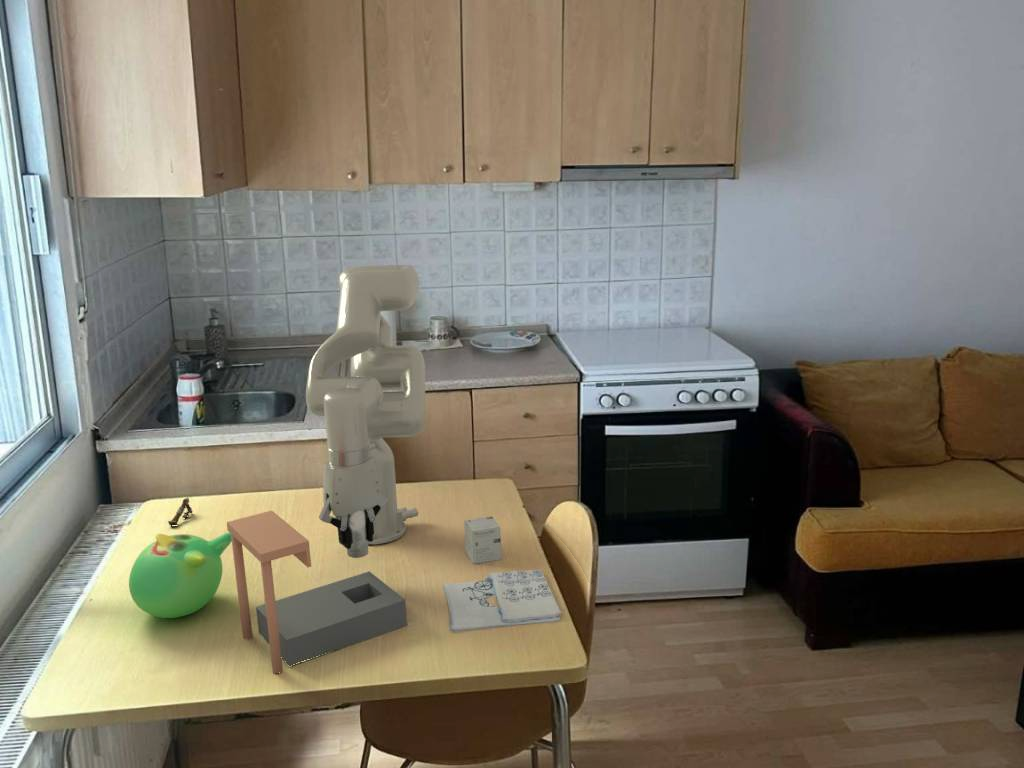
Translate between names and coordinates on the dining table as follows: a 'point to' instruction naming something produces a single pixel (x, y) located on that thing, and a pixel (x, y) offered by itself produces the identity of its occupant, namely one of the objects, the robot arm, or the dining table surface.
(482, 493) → the dining table surface
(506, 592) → the folded cloth
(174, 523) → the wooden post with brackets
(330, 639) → the socket plate
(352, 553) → the metal peg
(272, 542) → the canopy
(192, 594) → the toy bird
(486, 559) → the skincare box
